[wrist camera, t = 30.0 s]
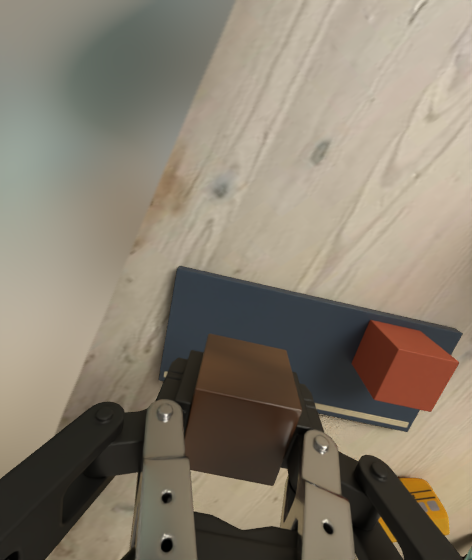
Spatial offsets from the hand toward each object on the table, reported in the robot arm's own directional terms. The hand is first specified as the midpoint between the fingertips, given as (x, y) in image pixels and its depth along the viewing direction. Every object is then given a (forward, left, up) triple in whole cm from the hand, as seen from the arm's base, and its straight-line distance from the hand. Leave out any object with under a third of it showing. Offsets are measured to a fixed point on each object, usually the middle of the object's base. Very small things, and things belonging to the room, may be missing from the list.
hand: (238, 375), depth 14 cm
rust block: (+8, +8, -7) cm, 14 cm away
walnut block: (0, 0, 0) cm, 0 cm away
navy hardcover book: (+6, +2, -8) cm, 10 cm away
